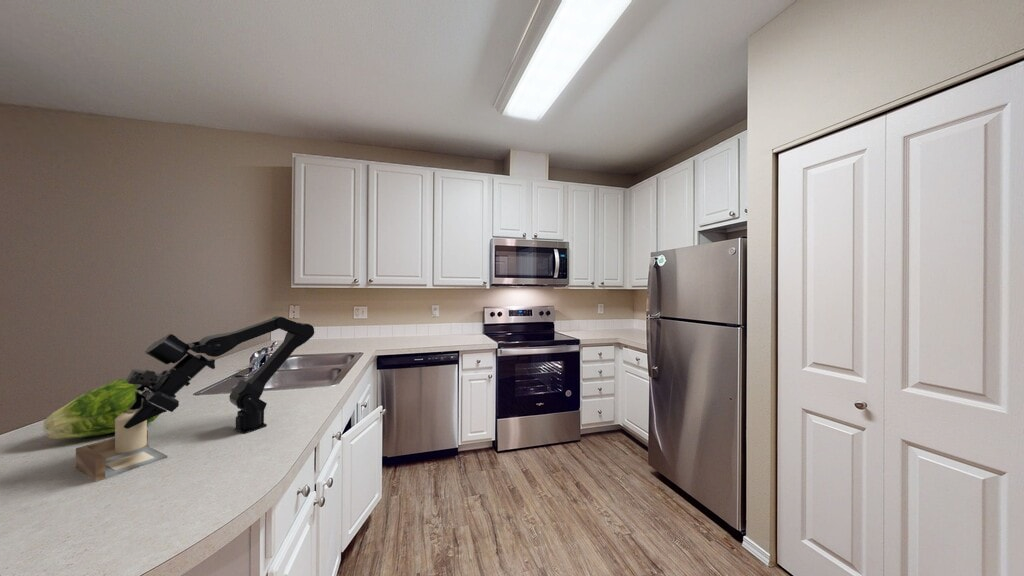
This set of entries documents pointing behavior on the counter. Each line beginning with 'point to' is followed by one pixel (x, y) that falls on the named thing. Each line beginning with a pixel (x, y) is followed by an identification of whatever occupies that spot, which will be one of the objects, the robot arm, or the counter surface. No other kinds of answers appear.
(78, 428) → the lettuce
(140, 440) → the candle
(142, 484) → the counter surface
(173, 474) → the counter surface
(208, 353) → the robot arm
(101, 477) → the frame
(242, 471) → the counter surface
